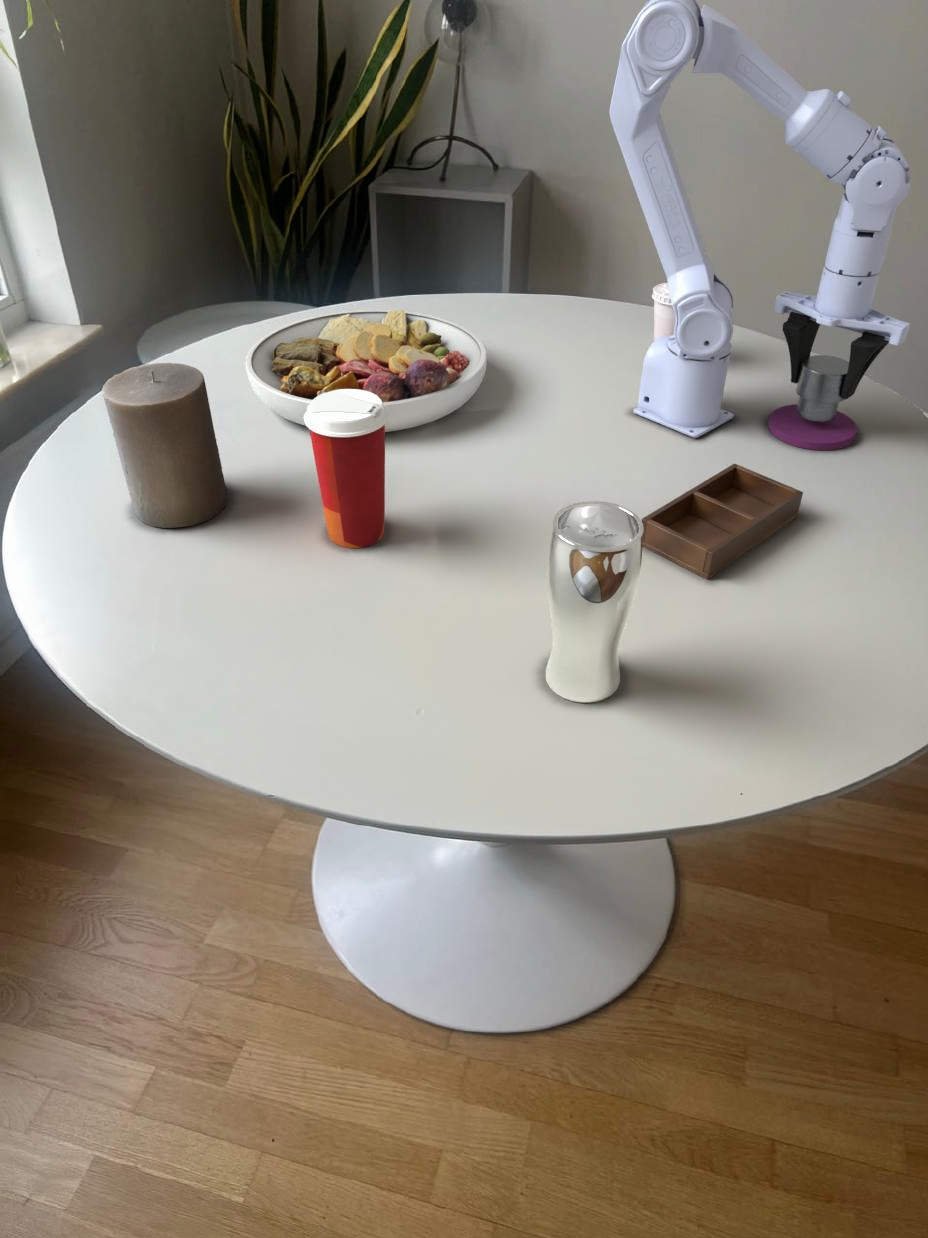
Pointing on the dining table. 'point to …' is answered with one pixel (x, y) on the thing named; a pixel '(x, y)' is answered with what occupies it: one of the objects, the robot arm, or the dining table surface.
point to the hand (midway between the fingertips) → (821, 387)
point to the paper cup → (350, 463)
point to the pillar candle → (166, 444)
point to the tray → (720, 520)
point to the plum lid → (811, 430)
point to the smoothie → (663, 311)
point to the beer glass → (591, 596)
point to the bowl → (369, 364)
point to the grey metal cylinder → (820, 387)
